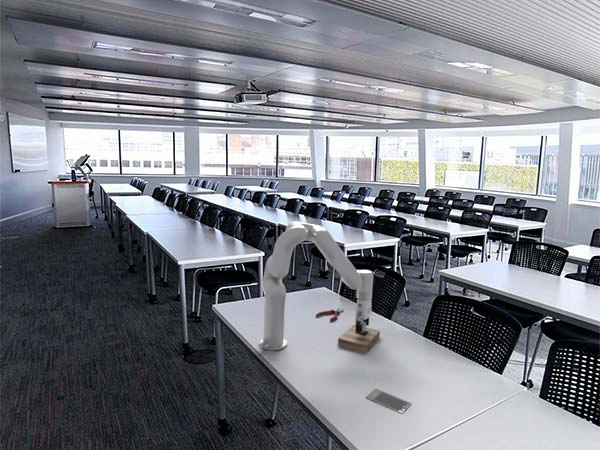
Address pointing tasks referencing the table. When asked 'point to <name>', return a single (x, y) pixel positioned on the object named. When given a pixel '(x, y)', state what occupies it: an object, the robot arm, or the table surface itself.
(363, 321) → the pin
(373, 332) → the socket block
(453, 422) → the table surface
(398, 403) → the smartphone
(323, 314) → the pliers
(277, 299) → the robot arm
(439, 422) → the table surface
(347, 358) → the table surface
